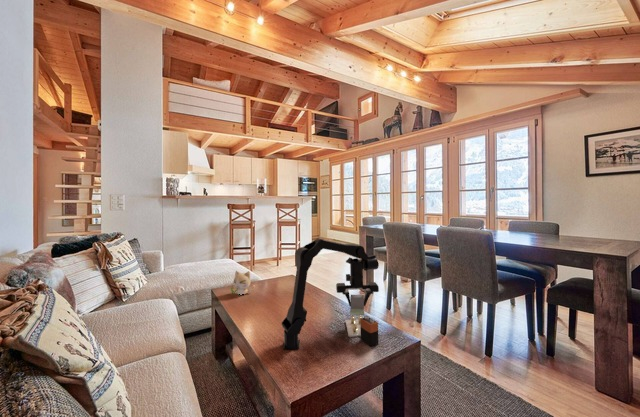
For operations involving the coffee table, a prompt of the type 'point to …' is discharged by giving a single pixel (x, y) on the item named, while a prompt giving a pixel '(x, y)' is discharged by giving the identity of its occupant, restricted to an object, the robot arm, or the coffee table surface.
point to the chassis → (353, 327)
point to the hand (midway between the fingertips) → (357, 306)
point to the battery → (369, 331)
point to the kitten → (242, 283)
